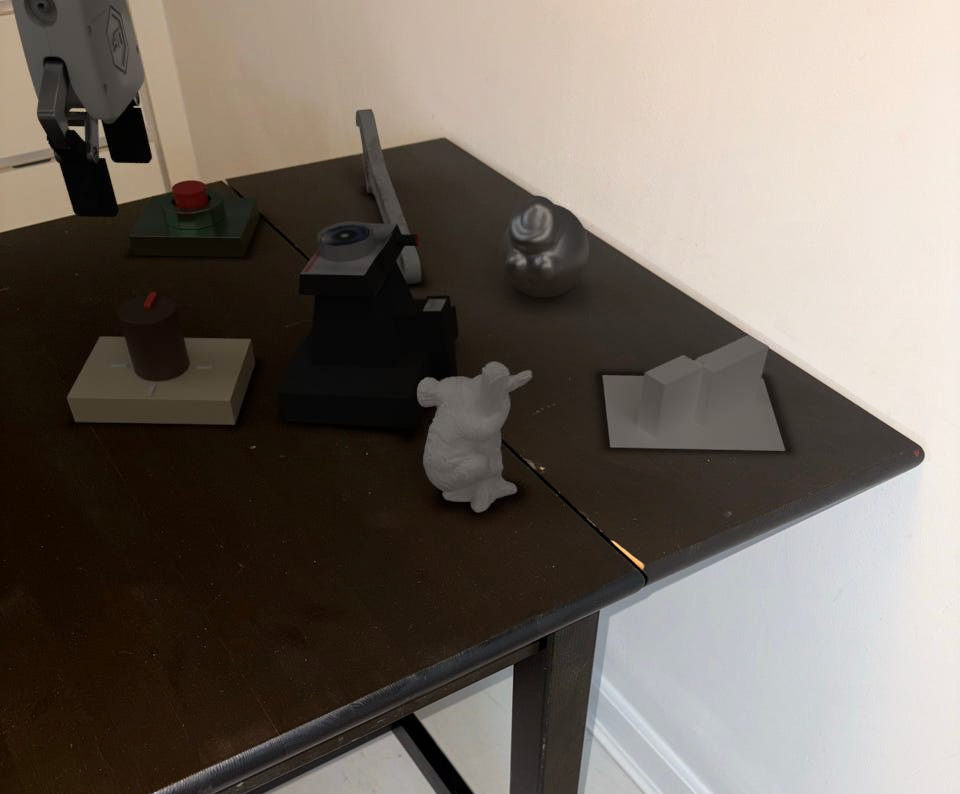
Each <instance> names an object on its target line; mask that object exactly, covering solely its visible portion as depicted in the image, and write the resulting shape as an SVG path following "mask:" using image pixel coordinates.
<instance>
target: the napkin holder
mask: <svg viewBox="0 0 960 794" xmlns="http://www.w3.org/2000/svg"><path fill="white" fill-rule="evenodd" d="M769 347H770V346H769V345H767V344H766V343H764V342H762V341H761V340H758V339H756V338H754V337H753V336H752V335H749V334H747V335H745V336H742V337H740V338H738V339H735V340H734V341H732V342H730V343H728V344H726V345H723V346H721V347H719V348H717V349H715V350H713V351H711V352H709V353H704V354H702V355H701V356H698V357H696V359H694V360H693V359H692V358H690V357H688V356H687V355H685V354H682V355H680V356H677V357H675V358H674V359H671V360H669V361H667V362H665V363H663V364H660V365H658V366H656V367H654V368H651V369H649V370H647V371H645V372H644V373H643V374H644V375H612V374H611V375H610V374H609V375H608V374H603V375H602V383H603V393H604V402H605V411H606V420H607V430H608V439H609V440H608V441H609V447H610V448H616V449H617V448H620V449H621V448H624V449H626V448H627V449H668V450H669V449H671V450H673V449H674V450H717V451H719V450H721V451H722V450H723V451H765V452H766V451H771V452H774V451H775V452H786V448H785V444H784V442H783V439H782V435H781V432H780V428H779V425H778V422H777V419H776V415H775V411H774V409H773V406H772V402H771V400H770V397H769V393H768V389H767V386H766V383H765V380H764V378H763V377H762V376H763V373H764V372H763V371H764V367H765V363H766V359H767V356H768V352H769Z"/></svg>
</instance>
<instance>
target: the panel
mask: <svg viewBox="0 0 960 794" xmlns="http://www.w3.org/2000/svg"><path fill="white" fill-rule="evenodd" d="M184 340H185V345H186V349H187V353H188V357H189V362H190V364H189V367H188V369H187V370H186V371H185V372H184V373H183V374H181V375H180V376H178V377H175V378H173V379H169V380H164V381H149V380H145V379H142V378H140V377H139V376H137V375H136V373H135V371H134V368H133V364H132V361H131V357H130V354H129V350H128V347H127V343H126V340H125V336H99V337H98V339H97V341H96V342H95V345H94V347H93V349H92V350H91V352H90V355H89V356H88V358H87V359H86V361H85V363H84V365H83V367H82V368H81V371H80V372H79V374H78V376H77V378H76V380H75V381H74V383H73V385H72V387H71V389H70V391H69V392H68V394H67V397H66V399H67V402H68V405H69V408H70V411H71V414H72V418H73V420H74V422H75V423H105V424H106V423H108V424H109V423H110V424H112V423H113V424H114V423H116V424H167V425H169V424H173V425H229V426H230V425H231V426H235V425H236V423H237V421H238V418H239V415H240V411H241V408H242V405H243V402H244V399H245V395H246V392H247V389H248V387H249V383H250V380H251V378H252V374H253V371H254V368H255V366H256V357H255V353H254V347H253V342H252V339H251V338H222V337H221V338H215V337H213V338H212V337H184Z"/></svg>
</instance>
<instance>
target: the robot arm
mask: <svg viewBox="0 0 960 794" xmlns="http://www.w3.org/2000/svg"><path fill="white" fill-rule="evenodd" d="M10 1H11V5H12V10H13V13H14V18H15V22H16V26H17V31H18V34H19V35H18V36H19V38H20V42H21V47H22V50H23V54H24V58H25V62H26V65H27V69H28V72H29V76H30V79H31V83H32V86H33V89H34V92H35V95H36V98H37V100H38V101H37V107H36V116H37V120H38V122H39V124H40V126H41V128H42V129H43V131H44V133H45V134H46V141H47V142H48V143H47V145H49V147H50V149H51V150H52V151H53V156H54V159H55V161H56V163H58V164H59V168H60V171H61V174H62V178H63V180H64V185H65V187H66V188H65V189H66V191H67V193H68V194H67V195H68V198H69V202H70V205H71V209H72V212H73V214H74V215H76V216H77V217H82V218H83V217H84V218H85V217H87V218H89V217H91V218H115V217H116V216H117V215H118V213H119V212H120V207H119V205H118V201H117V198H116V193H115V190H114V186H113V181H112V178H111V175H110V170H109V167H108V163H107V160H106V157H100V134H99V121H101V124H102V130H103V133H104V137H105V141H106V145H107V149H108V153H109V156H110V159H111V162H114V163H115V164H150V163H151V161H152V160H153V154H152V150H151V149H152V148H151V144H150V141H149V135H148V132H147V127H146V123H145V118H144V114H143V109H142V107H140V105H141V96H140V90H141V88H142V86H143V84H144V81H145V69H144V64H143V61H142V57H141V52H140V49H139V45H138V41H137V37H136V33H135V29H134V25H133V22H132V18H131V14H130V9H129V7H128V3H127V0H10ZM72 109H83V110H85V111H73V110H72ZM70 127H79V128H81V127H83V129H84V139H83V138H82V137H81V135H80V134H79V133H78V132H77V131H76V130H75V129H70Z"/></svg>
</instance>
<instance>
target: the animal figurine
mask: <svg viewBox="0 0 960 794" xmlns="http://www.w3.org/2000/svg"><path fill="white" fill-rule="evenodd" d="M531 379H533V372H532V370H530V369H526V370H522V371H521V372H519V373H517V374H511V372H510V370H509V368H508V367H507V366H505V365H504V363H501V362H499V361H490V362H488V363H486V364H485V366H483V367H482V368H481V374H478V375H476V376H474V377H472V378H470V377H468V376H464V375H462V376H460V375H458V376H457V377H449V378H445V379H443V380H441V381H437V380H436V379H434V378H429V377H426V378H424V380H421V382H420V383H419V385H418V388H417V398H418V402H419V403H420V405H421V406H424V407H425V408H429V407H436V411H435V413H434V417H433V418H432V420H431V421H432V423H431V424H430V425H429V427H428V433H427V437H426V441H425V445H424V451H423V452H424V453H423V455H422V465H423V468H424V471H425V475H426V476H427V478H428V481H429V482H430V483H431V484H432V485H433V486H434V487H436V488H437V489H438V490H440V491H442V497H443V499H444V500H446V501H449V502H454V503H456V502H458V503H459V502H460V503H467V502H469V503H470V508H471V509H472V510H473V511H474V512H475V513H477V514H478V513H482V512H485V511H486V510H488V509H489V508H490V506H491V504H493V503H495V501H496V500H497V499H501V498H504V497H507V496H511V495H514V494H516V493H517V492H518V487H517V486H516V484H514V482H511V481H507V480H505V478H504V477H502V473H503V470H504V464H503V454H502V450H501V447H502V442H503V440H502V433H501V431H502V430H501V429H502V427H503V426H504V424H505V423H506V421H507V419H508V415H509V414H510V411H511V398H510V394H509V393H510V392H514V391H515V390H516V389H518V388H520V387H523V386H525V385H526V384H527V383H528V382H530V381H531Z"/></svg>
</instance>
